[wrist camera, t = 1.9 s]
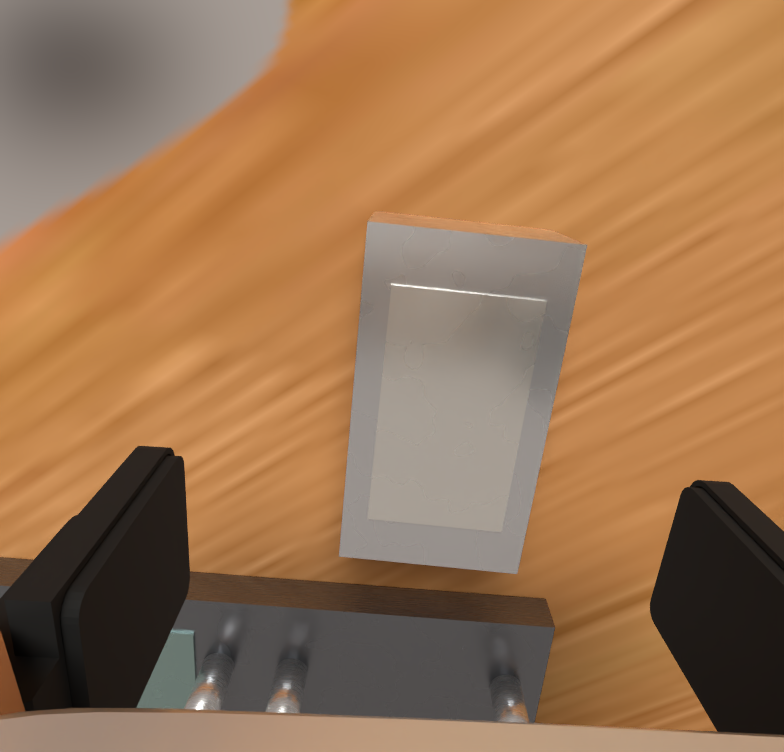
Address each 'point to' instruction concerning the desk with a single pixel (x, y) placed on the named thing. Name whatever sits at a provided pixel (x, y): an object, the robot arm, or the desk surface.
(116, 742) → the robot arm
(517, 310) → the block
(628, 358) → the desk surface
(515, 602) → the tray
